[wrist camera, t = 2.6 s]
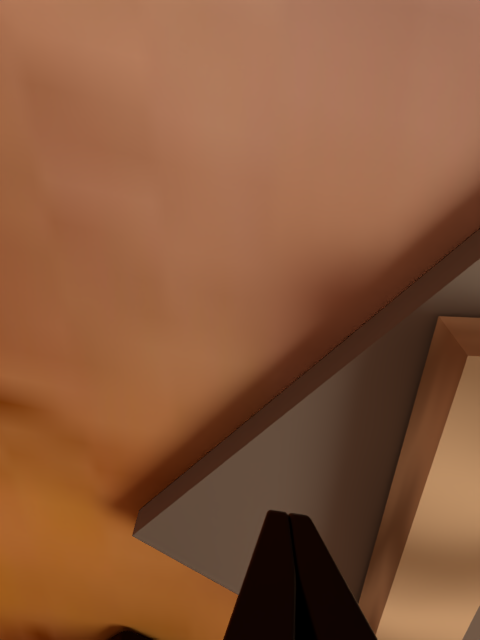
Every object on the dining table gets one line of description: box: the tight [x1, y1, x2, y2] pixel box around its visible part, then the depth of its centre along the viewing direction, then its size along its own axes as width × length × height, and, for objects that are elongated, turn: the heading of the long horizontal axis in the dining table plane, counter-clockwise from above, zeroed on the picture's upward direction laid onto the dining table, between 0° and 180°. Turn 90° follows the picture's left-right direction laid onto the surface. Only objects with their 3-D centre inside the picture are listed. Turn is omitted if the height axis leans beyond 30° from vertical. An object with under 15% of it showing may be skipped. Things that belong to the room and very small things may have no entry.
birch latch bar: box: [358, 316, 480, 640], centre depth 16 cm, size 18×4×2 cm, turn 178°
